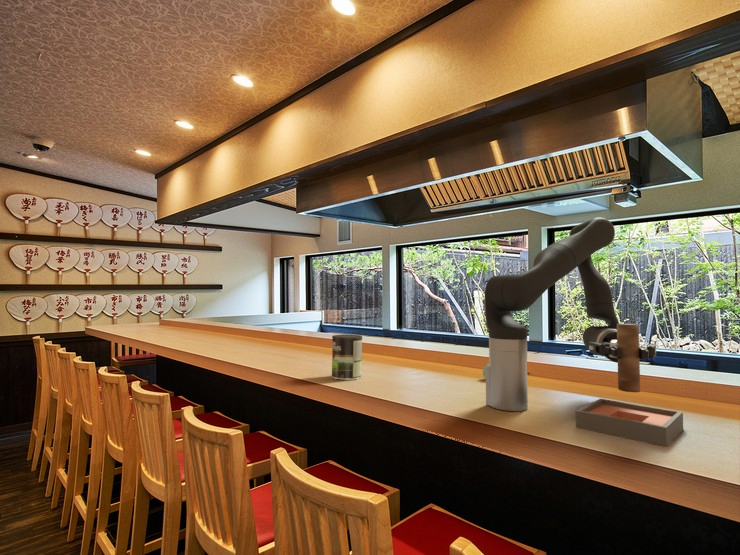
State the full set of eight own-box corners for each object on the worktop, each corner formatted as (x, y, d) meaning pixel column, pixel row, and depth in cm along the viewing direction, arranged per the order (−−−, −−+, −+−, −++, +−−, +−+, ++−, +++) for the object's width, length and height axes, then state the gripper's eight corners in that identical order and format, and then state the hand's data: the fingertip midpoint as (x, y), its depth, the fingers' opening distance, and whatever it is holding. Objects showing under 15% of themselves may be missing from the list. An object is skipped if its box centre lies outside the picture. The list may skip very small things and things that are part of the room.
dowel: (615, 390, 89) (614, 324, 90) (621, 387, 92) (619, 323, 93) (637, 393, 86) (635, 325, 87) (642, 390, 89) (640, 324, 90)
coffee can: (338, 381, 135) (339, 337, 136) (327, 376, 144) (327, 335, 145) (367, 379, 140) (367, 336, 140) (354, 374, 149) (354, 334, 149)
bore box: (575, 427, 89) (575, 410, 89) (600, 413, 100) (600, 398, 100) (666, 446, 77) (666, 427, 78) (683, 428, 89) (682, 412, 89)
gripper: (582, 328, 106) (592, 334, 90) (648, 330, 101) (671, 337, 85) (583, 358, 105) (593, 370, 89) (649, 361, 100) (672, 374, 84)
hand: (631, 354), depth 87 cm, fingers closed on dowel, 4 cm apart
